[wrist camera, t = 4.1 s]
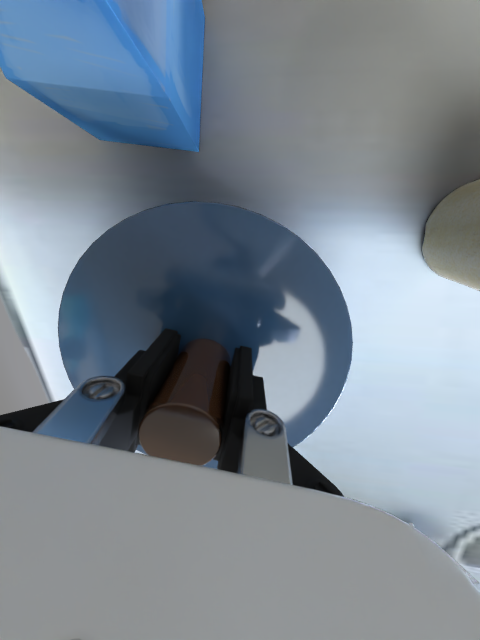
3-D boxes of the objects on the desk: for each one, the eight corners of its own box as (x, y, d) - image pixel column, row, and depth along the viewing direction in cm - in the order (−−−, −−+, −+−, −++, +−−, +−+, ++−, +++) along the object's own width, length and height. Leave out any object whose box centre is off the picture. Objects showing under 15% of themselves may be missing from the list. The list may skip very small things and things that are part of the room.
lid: (76, 166, 10) (-131, 81, 5) (391, 249, 11) (541, 263, 5) (72, 426, 15) (-33, 542, 9) (294, 471, 16) (321, 603, 10)
